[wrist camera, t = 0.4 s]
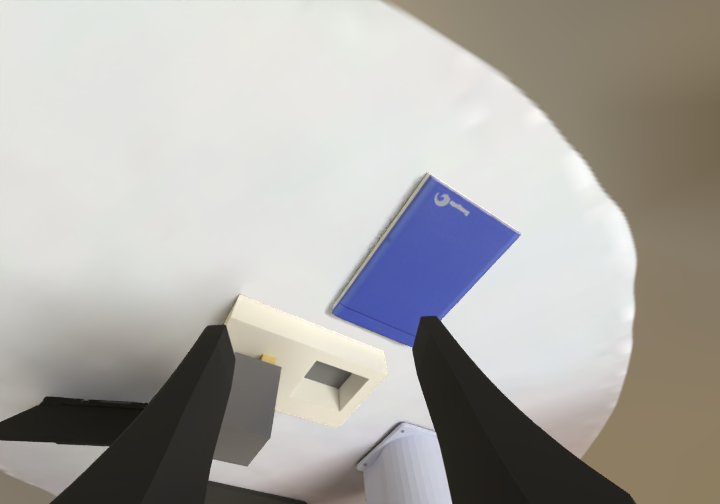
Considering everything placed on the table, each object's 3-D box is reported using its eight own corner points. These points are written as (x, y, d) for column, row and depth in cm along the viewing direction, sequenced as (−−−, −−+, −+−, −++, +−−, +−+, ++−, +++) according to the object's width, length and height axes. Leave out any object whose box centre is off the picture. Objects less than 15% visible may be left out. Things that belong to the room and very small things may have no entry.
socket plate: (337, 403, 31) (338, 433, 28) (203, 361, 26) (189, 393, 24) (383, 350, 28) (389, 380, 25) (239, 294, 23) (228, 322, 21)
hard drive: (432, 176, 19) (331, 315, 24) (524, 235, 22) (416, 350, 27) (425, 169, 20) (331, 302, 25) (512, 225, 23) (412, 336, 28)
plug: (264, 383, 25) (247, 466, 20) (221, 370, 24) (191, 454, 18) (283, 356, 23) (270, 437, 18) (239, 341, 22) (211, 423, 17)
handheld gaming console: (60, 465, 30) (-49, 547, 20) (63, 385, 31) (-41, 426, 21) (194, 442, 32) (154, 504, 23) (193, 369, 33) (154, 399, 24)
